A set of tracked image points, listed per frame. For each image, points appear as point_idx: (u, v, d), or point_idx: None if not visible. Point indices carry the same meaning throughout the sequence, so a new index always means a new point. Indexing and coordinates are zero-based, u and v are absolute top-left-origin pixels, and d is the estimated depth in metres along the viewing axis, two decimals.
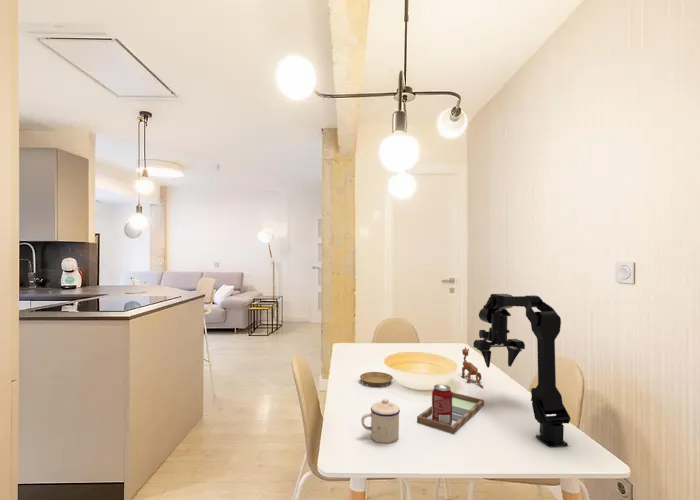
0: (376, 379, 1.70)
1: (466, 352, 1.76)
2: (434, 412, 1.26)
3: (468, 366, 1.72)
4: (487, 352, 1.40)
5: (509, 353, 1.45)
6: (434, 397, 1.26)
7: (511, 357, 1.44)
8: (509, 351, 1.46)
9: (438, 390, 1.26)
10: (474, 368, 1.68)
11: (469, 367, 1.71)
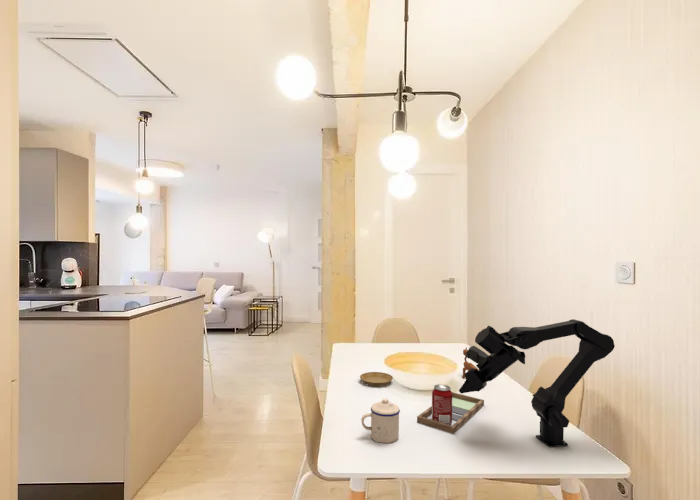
0: (376, 379, 1.70)
1: None
2: (434, 412, 1.26)
3: (469, 367, 1.72)
4: None
5: None
6: (434, 397, 1.26)
7: None
8: (480, 373, 1.25)
9: (438, 390, 1.26)
10: None
11: (470, 368, 1.71)
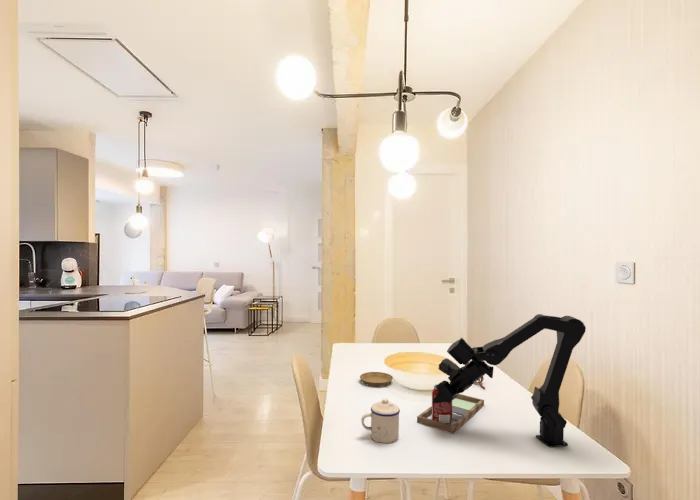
0: (376, 379, 1.70)
1: None
2: (434, 412, 1.26)
3: None
4: None
5: None
6: (434, 397, 1.26)
7: None
8: (452, 385, 1.30)
9: None
10: None
11: None
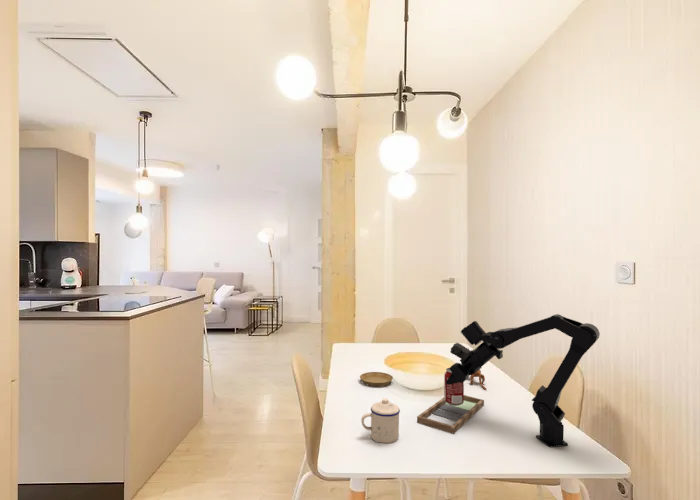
0: (376, 379, 1.70)
1: None
2: (447, 394, 1.34)
3: None
4: None
5: None
6: (447, 379, 1.34)
7: None
8: None
9: (450, 372, 1.34)
10: None
11: None
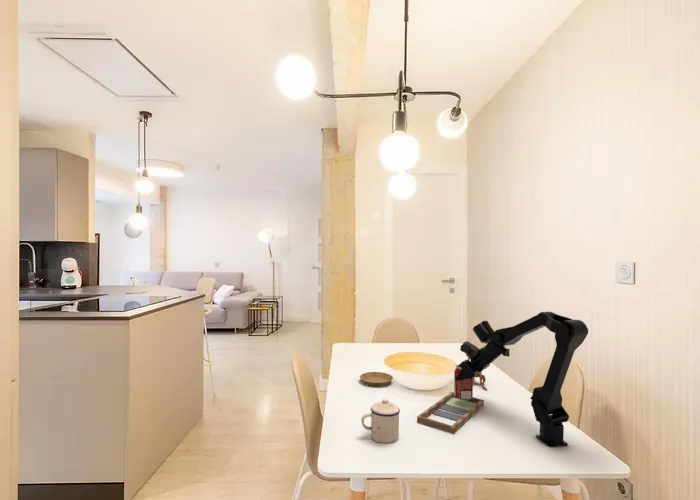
0: (376, 379, 1.70)
1: None
2: (457, 389, 1.42)
3: None
4: None
5: None
6: (456, 375, 1.42)
7: None
8: None
9: (460, 369, 1.41)
10: None
11: None
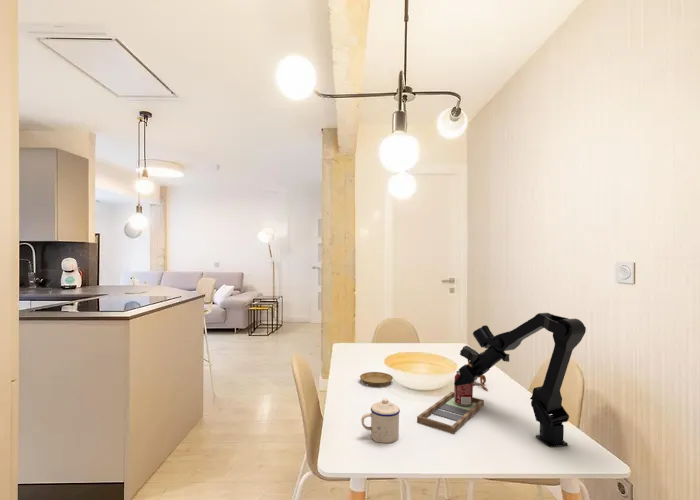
0: (376, 379, 1.70)
1: None
2: (457, 395, 1.42)
3: None
4: None
5: None
6: None
7: None
8: (472, 369, 1.46)
9: None
10: None
11: None
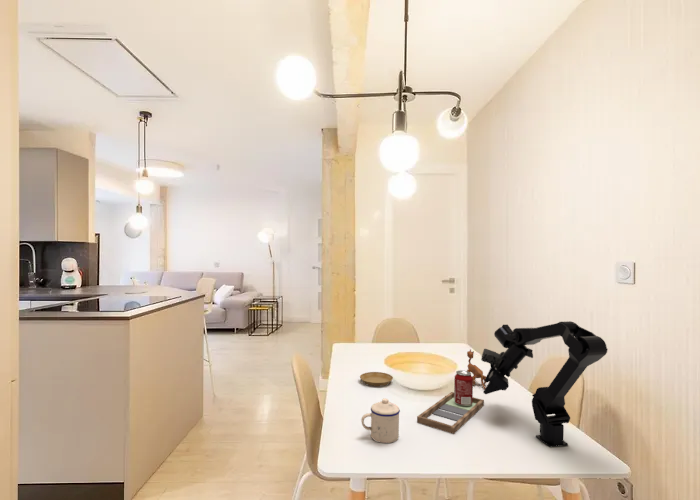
0: (376, 379, 1.70)
1: (471, 354, 1.72)
2: (457, 395, 1.42)
3: (473, 369, 1.68)
4: None
5: (492, 371, 1.40)
6: (457, 381, 1.42)
7: None
8: (493, 369, 1.40)
9: (460, 375, 1.41)
10: (479, 371, 1.64)
11: (474, 370, 1.67)
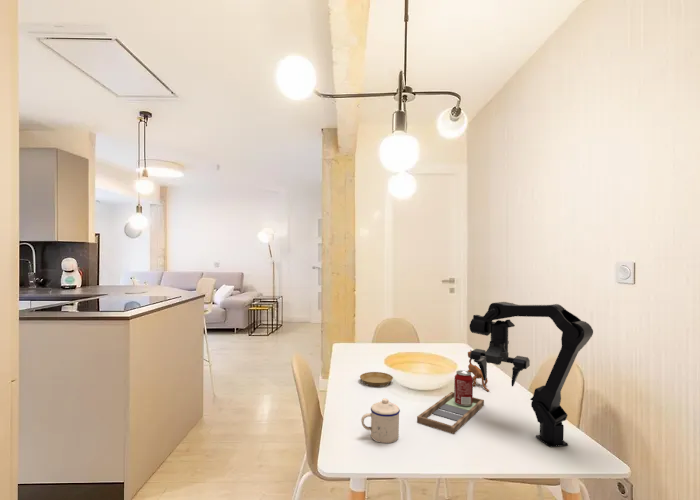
0: (376, 379, 1.70)
1: None
2: (457, 395, 1.42)
3: (474, 369, 1.68)
4: None
5: (484, 366, 1.33)
6: (457, 381, 1.42)
7: (486, 368, 1.34)
8: (483, 364, 1.33)
9: (460, 375, 1.41)
10: (480, 371, 1.64)
11: (475, 370, 1.67)
